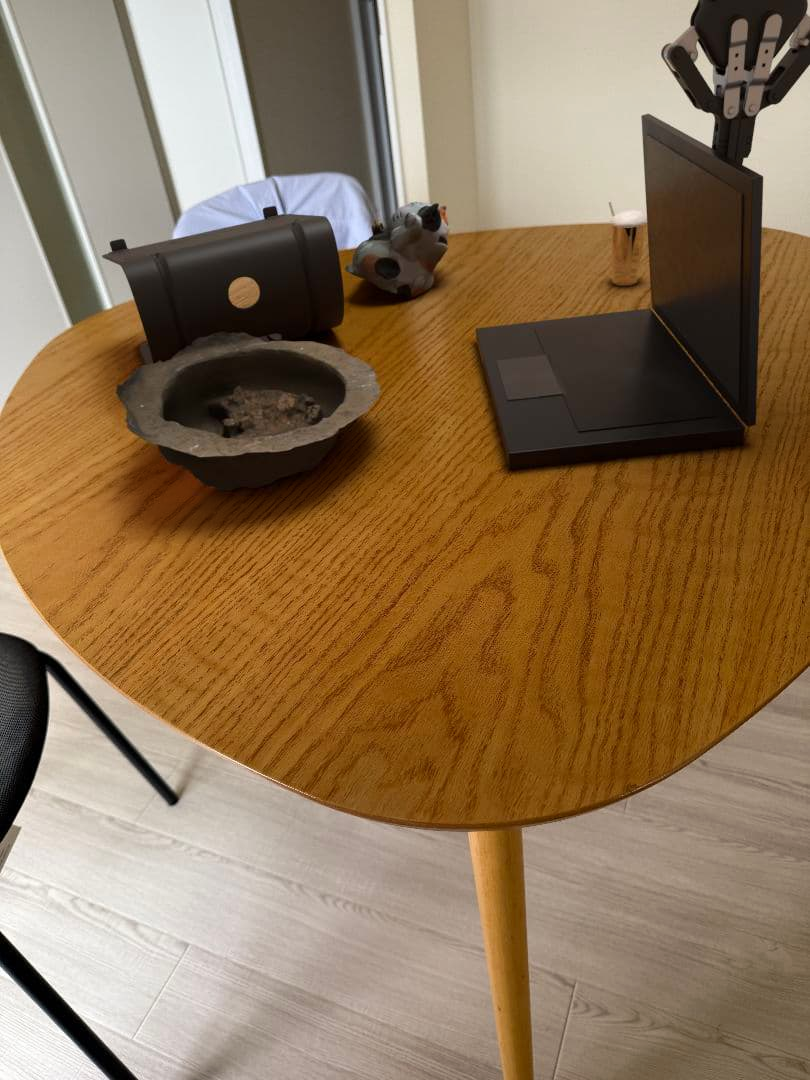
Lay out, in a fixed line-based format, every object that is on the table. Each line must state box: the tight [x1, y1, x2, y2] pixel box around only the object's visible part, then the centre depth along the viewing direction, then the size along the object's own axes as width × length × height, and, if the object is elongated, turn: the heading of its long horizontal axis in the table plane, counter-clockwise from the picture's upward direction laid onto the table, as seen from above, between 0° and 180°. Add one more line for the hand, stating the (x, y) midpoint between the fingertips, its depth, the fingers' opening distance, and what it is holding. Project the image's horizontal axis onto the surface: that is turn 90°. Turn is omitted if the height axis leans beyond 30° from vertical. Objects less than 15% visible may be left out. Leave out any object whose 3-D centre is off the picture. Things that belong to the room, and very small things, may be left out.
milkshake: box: [608, 201, 647, 287], centre depth 103 cm, size 4×5×10 cm
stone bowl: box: [115, 332, 382, 491], centre depth 77 cm, size 25×25×9 cm
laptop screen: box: [640, 113, 764, 428], centre depth 75 cm, size 21×30×1 cm
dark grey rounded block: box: [101, 205, 345, 365], centre depth 98 cm, size 26×24×16 cm
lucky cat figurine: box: [344, 200, 450, 299], centre depth 111 cm, size 15×12×14 cm
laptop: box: [475, 307, 746, 471], centre depth 82 cm, size 21×30×2 cm
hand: (728, 165), depth 66 cm, fingers closed
